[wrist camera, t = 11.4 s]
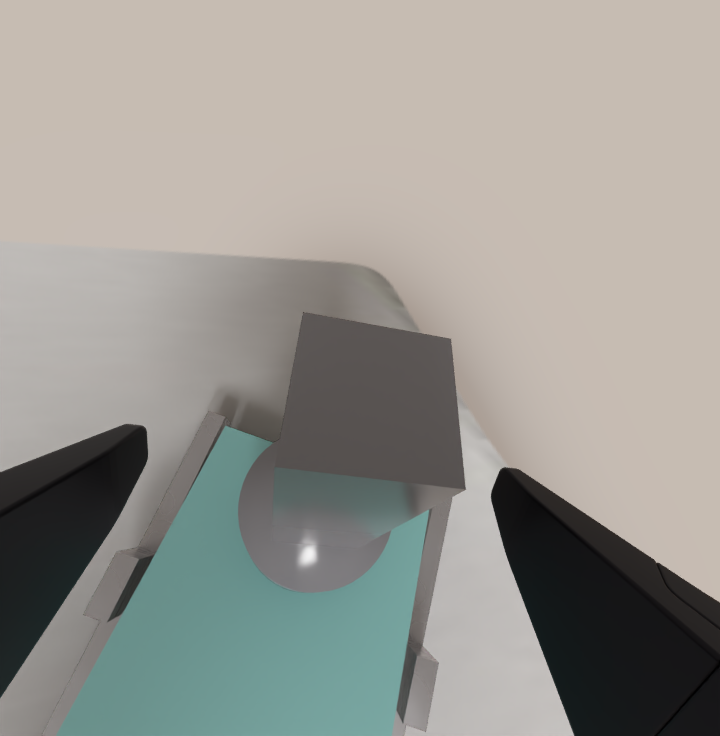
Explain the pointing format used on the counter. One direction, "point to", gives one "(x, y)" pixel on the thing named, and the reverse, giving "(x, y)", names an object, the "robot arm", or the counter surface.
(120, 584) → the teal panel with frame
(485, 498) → the counter surface
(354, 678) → the trapdoor
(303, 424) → the gray metal handle
